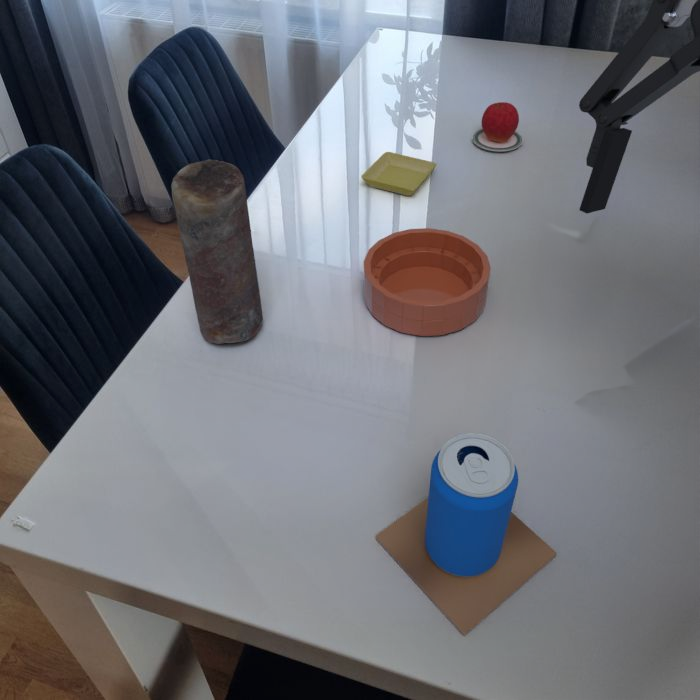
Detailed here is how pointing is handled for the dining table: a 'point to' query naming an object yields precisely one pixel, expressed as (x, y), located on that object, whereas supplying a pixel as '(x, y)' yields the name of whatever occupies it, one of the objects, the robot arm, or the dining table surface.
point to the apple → (499, 128)
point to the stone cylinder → (218, 250)
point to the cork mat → (457, 591)
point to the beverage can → (469, 504)
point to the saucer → (398, 173)
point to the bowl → (426, 281)
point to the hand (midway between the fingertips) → (666, 242)
